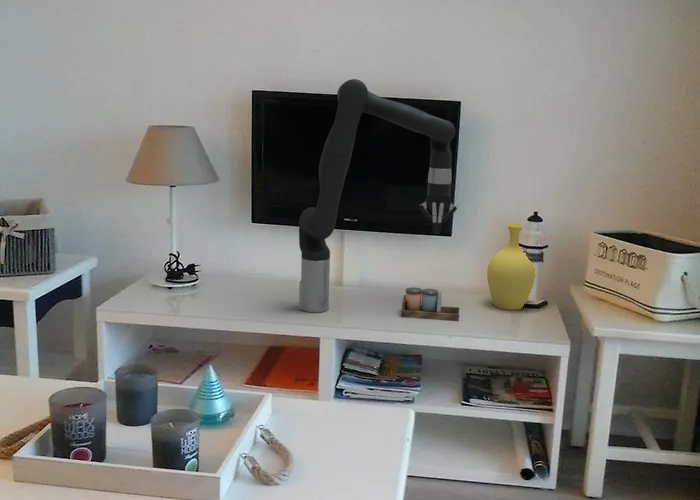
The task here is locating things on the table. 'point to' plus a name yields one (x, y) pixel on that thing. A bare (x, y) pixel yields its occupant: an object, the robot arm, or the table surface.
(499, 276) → the vase
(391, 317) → the table surface
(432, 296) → the jar
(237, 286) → the table surface
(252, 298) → the table surface
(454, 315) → the wooden tray
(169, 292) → the table surface
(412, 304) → the jar
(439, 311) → the paddle
